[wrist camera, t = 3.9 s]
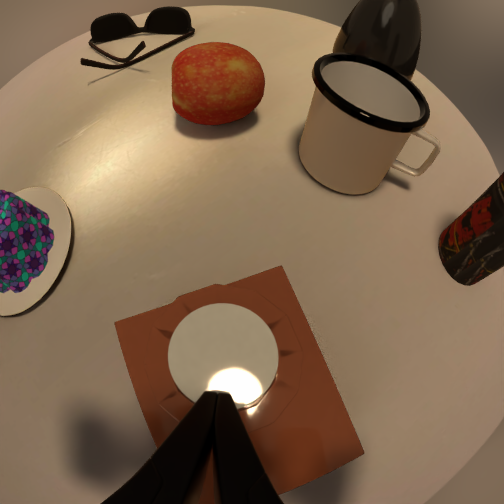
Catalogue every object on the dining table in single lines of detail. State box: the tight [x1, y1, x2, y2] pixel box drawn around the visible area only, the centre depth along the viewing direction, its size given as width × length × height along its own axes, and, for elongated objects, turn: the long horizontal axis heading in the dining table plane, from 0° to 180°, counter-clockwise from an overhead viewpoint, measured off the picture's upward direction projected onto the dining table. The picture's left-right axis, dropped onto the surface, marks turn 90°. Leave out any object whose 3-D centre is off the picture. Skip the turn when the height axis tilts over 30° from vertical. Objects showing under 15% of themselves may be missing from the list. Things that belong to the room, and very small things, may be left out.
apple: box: [172, 42, 265, 125], centre depth 25 cm, size 8×8×8 cm
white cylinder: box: [168, 303, 279, 409], centre depth 13 cm, size 4×4×3 cm
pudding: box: [0, 187, 71, 316], centre depth 19 cm, size 12×12×5 cm
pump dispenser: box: [333, 0, 421, 81], centre depth 27 cm, size 10×10×15 cm
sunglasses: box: [81, 7, 195, 69], centre depth 31 cm, size 17×14×5 cm
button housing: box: [115, 266, 364, 504], centre depth 16 cm, size 12×10×6 cm
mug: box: [299, 53, 440, 194], centre depth 23 cm, size 12×10×9 cm
